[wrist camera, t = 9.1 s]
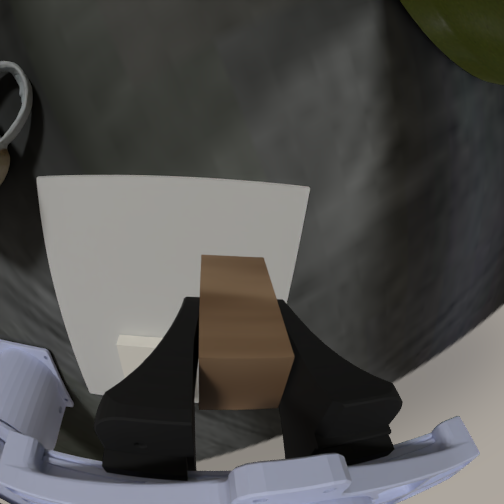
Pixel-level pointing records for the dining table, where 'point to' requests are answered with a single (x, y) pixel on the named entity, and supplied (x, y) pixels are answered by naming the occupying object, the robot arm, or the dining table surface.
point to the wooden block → (240, 336)
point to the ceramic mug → (0, 152)
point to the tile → (134, 350)
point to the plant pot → (465, 33)
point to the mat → (154, 251)
